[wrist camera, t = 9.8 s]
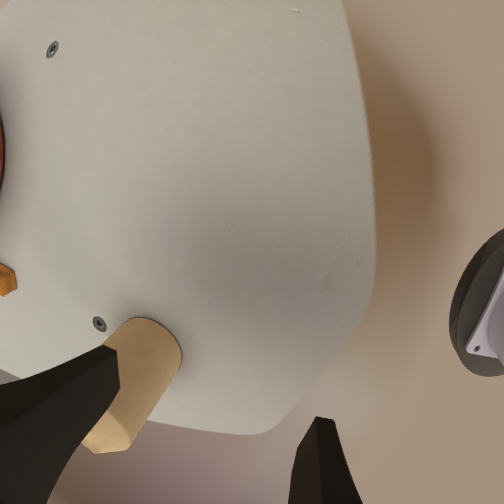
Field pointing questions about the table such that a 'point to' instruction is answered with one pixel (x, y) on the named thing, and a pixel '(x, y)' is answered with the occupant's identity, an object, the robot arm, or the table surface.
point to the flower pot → (1, 153)
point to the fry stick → (6, 280)
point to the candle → (135, 382)
